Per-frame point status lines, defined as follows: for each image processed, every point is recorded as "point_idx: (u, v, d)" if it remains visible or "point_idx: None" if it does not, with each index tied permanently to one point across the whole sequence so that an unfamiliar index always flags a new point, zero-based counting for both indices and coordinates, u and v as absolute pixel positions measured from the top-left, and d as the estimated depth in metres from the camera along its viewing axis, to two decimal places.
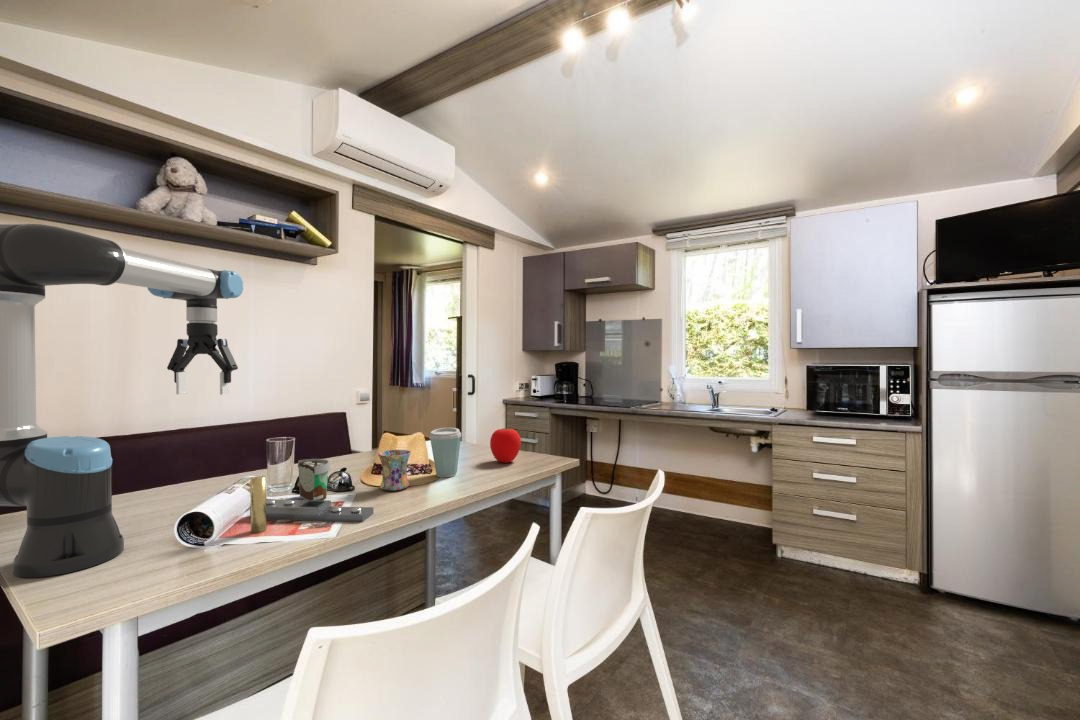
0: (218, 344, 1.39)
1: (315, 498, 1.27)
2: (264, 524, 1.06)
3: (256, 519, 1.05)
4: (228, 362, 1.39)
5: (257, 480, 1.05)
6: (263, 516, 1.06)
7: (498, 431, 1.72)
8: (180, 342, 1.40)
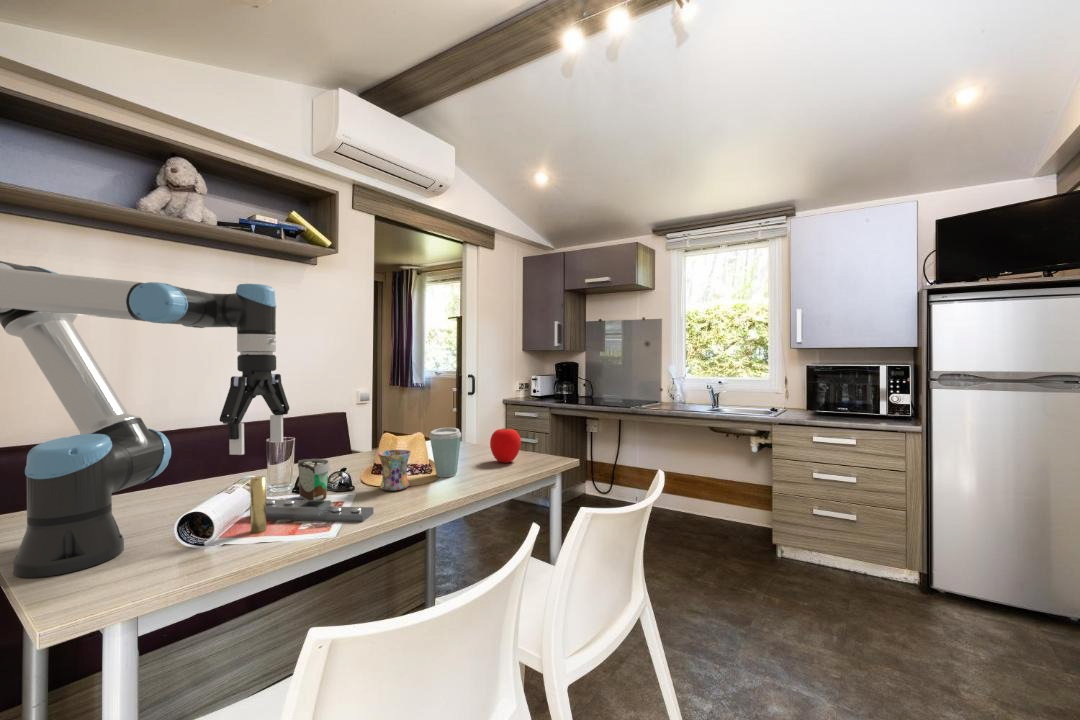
0: None
1: (315, 498, 1.27)
2: (264, 524, 1.06)
3: (256, 519, 1.05)
4: None
5: (257, 480, 1.05)
6: (263, 516, 1.06)
7: (498, 431, 1.72)
8: None
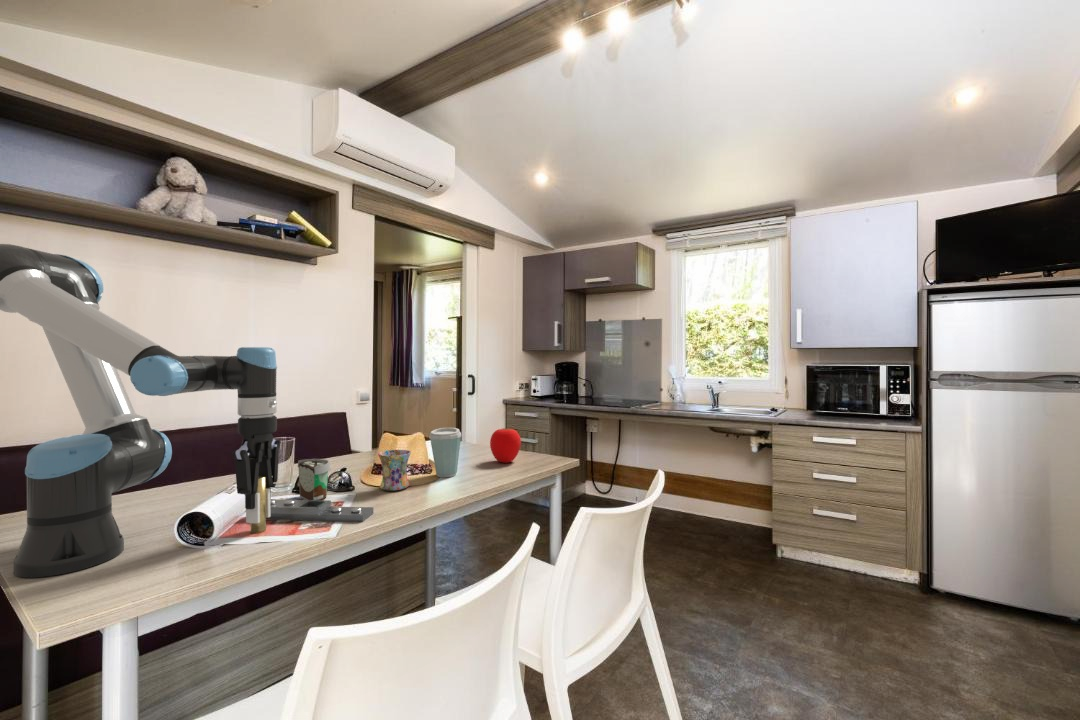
0: None
1: (315, 498, 1.27)
2: (264, 524, 1.07)
3: None
4: None
5: None
6: (263, 516, 1.06)
7: (498, 431, 1.72)
8: None
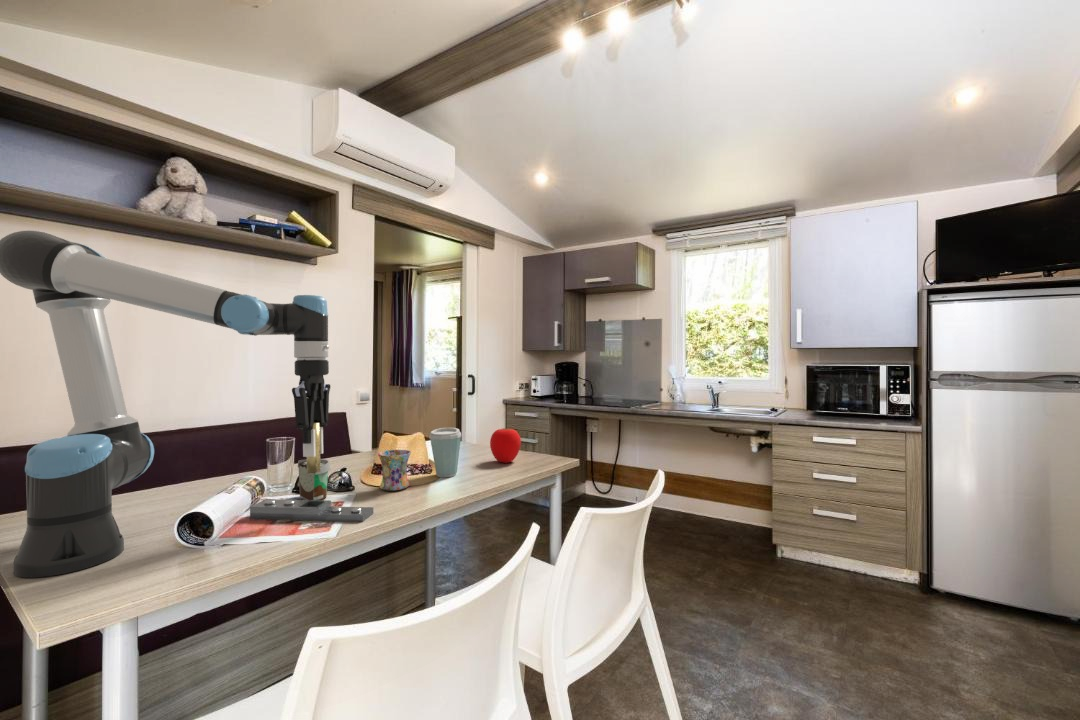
0: None
1: (315, 498, 1.27)
2: (319, 465, 1.16)
3: (312, 460, 1.15)
4: None
5: (313, 424, 1.15)
6: (318, 458, 1.16)
7: (498, 431, 1.72)
8: None
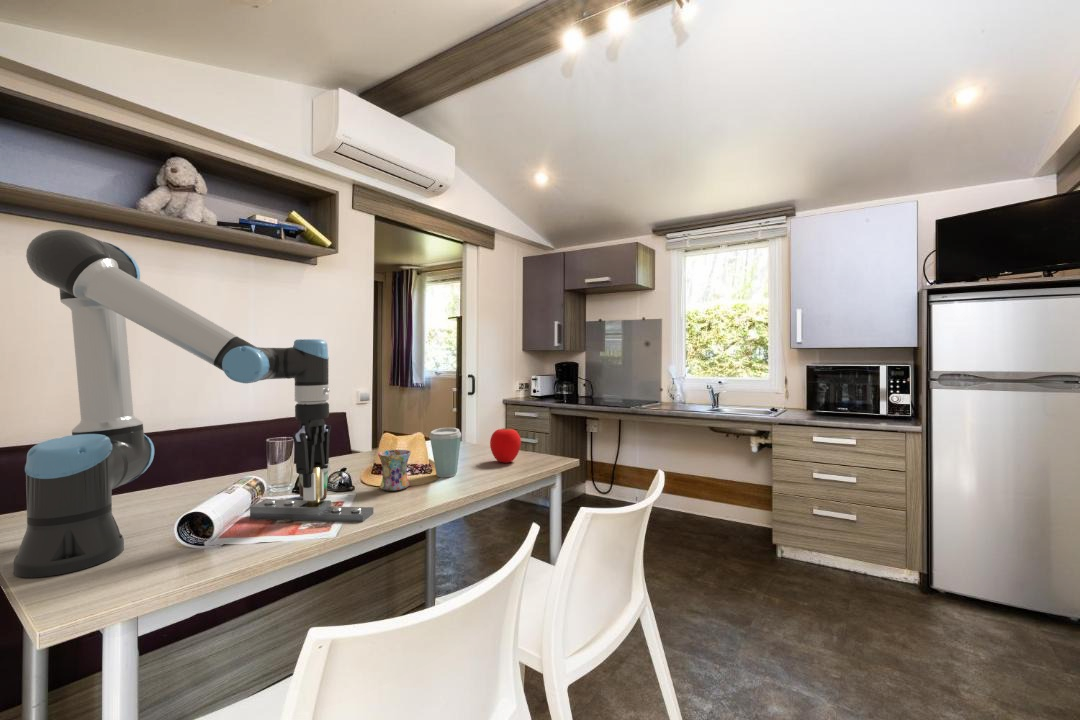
0: None
1: None
2: None
3: (312, 506, 1.15)
4: None
5: (313, 470, 1.15)
6: (318, 503, 1.16)
7: (498, 431, 1.72)
8: None
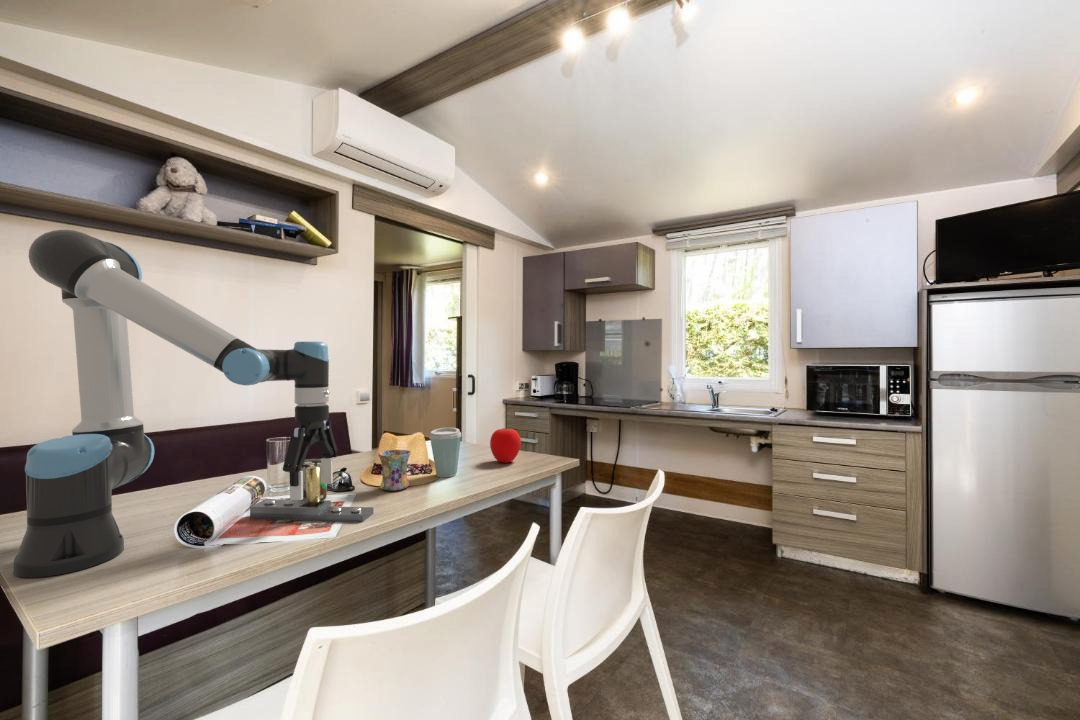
0: None
1: None
2: None
3: (312, 505, 1.15)
4: None
5: (313, 469, 1.15)
6: (318, 503, 1.16)
7: (498, 431, 1.72)
8: None
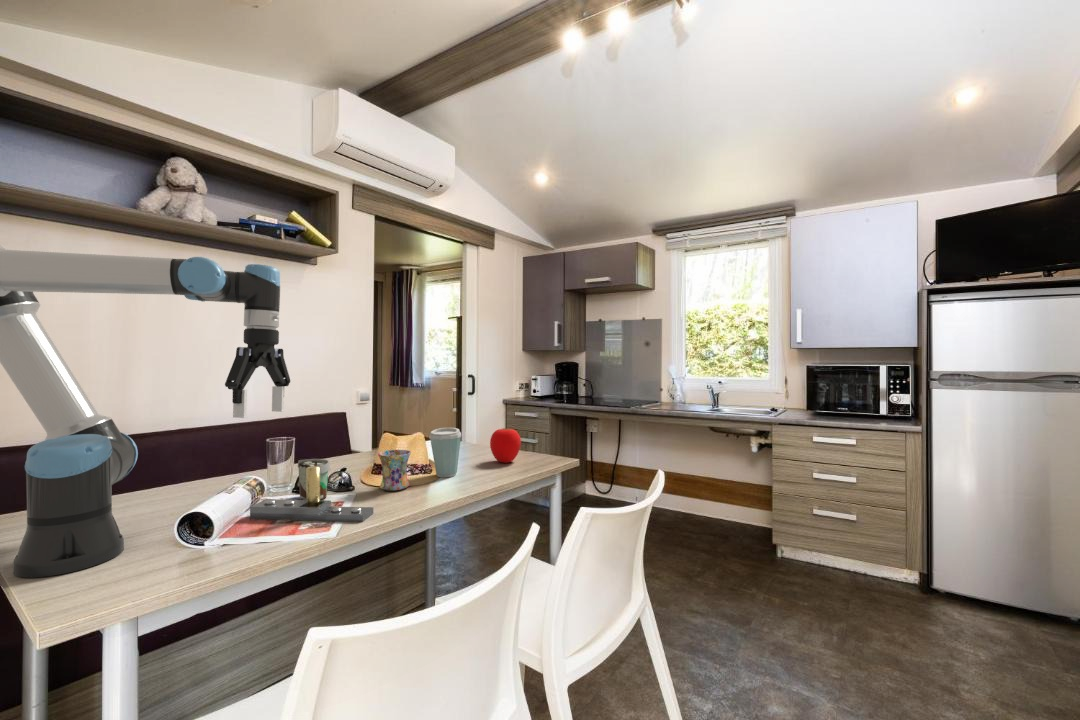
0: None
1: None
2: None
3: (312, 505, 1.15)
4: None
5: (313, 469, 1.15)
6: (318, 503, 1.16)
7: (498, 431, 1.72)
8: None
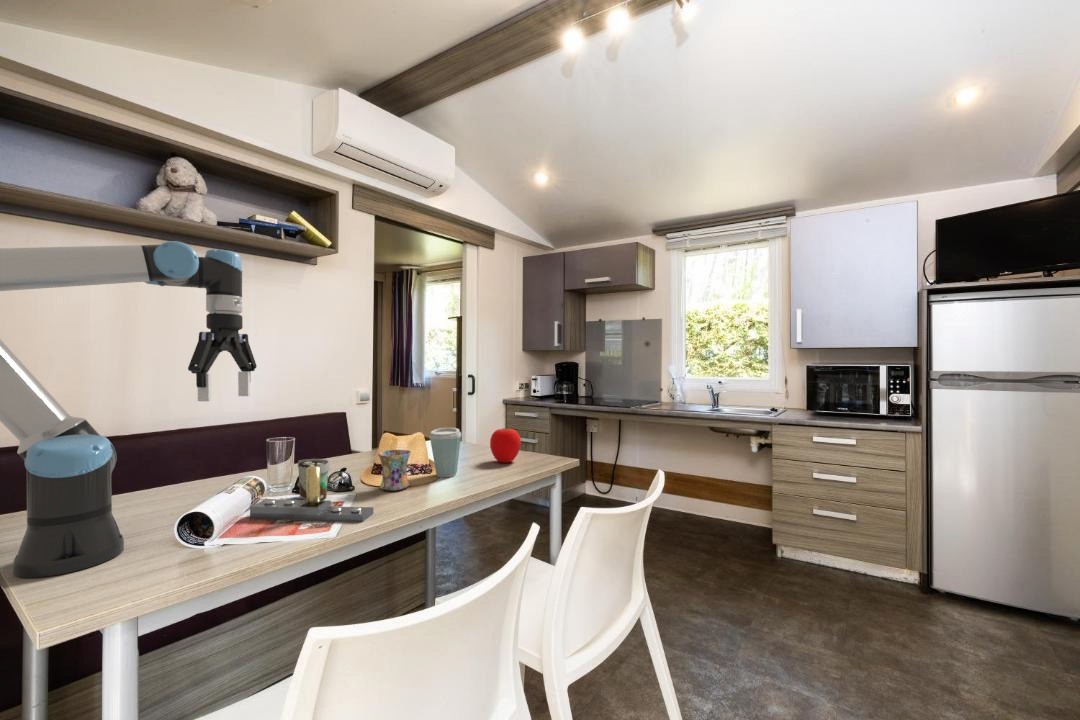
0: None
1: None
2: None
3: (312, 505, 1.15)
4: None
5: (313, 469, 1.15)
6: (318, 503, 1.16)
7: (498, 431, 1.72)
8: None
